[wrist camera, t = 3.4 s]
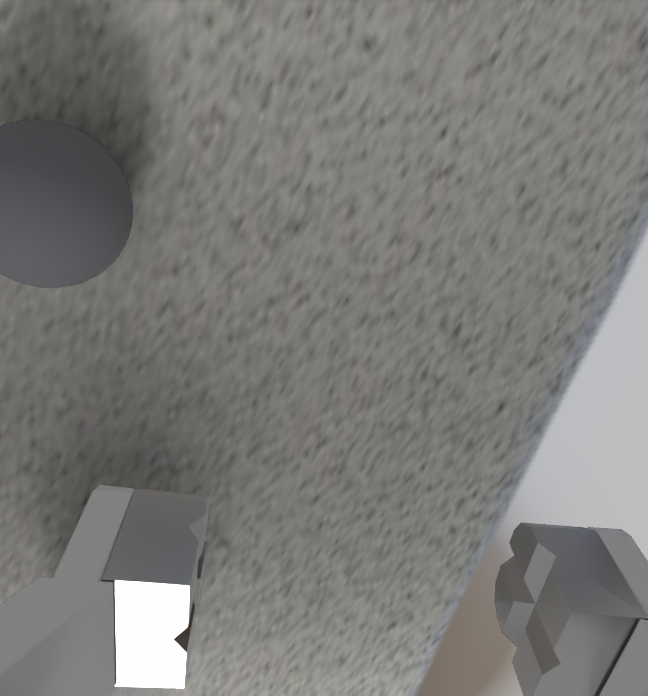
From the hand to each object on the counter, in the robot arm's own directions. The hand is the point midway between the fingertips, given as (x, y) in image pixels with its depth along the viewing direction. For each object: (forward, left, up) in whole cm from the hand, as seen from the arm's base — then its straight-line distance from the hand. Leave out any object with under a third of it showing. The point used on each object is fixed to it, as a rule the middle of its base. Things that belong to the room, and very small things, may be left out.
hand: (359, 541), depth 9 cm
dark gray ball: (+7, +6, -14) cm, 17 cm away
